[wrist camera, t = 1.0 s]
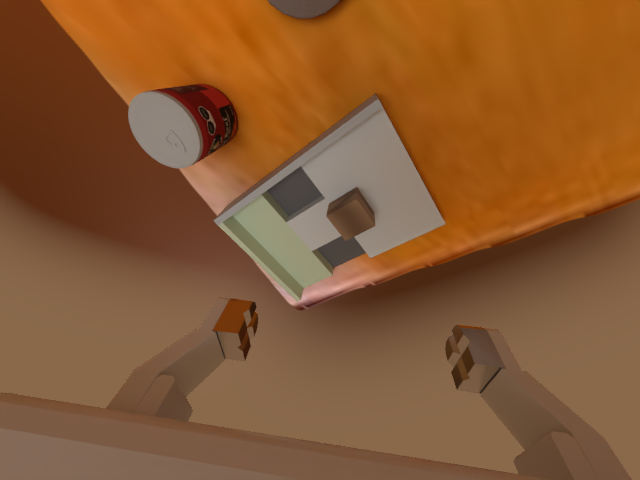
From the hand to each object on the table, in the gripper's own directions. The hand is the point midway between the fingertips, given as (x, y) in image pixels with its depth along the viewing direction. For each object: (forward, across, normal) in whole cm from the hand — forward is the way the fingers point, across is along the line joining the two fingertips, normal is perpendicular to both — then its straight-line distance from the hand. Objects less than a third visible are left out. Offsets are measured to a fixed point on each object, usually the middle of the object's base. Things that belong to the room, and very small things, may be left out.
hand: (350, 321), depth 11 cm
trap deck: (+31, +3, +12) cm, 33 cm away
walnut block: (+28, 0, +9) cm, 30 cm away
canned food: (+31, +21, -2) cm, 37 cm away
